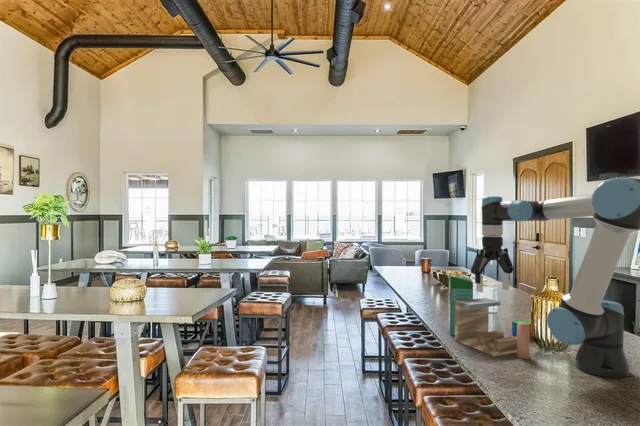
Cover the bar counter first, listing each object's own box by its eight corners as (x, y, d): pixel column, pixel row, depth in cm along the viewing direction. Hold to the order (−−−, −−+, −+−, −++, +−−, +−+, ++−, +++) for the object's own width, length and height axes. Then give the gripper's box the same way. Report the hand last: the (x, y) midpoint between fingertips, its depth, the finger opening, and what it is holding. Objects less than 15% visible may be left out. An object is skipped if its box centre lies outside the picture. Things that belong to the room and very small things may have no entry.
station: (526, 350, 161) (526, 308, 161) (494, 356, 154) (495, 312, 154) (484, 335, 180) (485, 297, 180) (454, 340, 173) (455, 300, 173)
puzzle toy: (524, 338, 176) (524, 324, 176) (511, 335, 181) (512, 321, 181) (532, 336, 179) (533, 323, 179) (520, 333, 184) (520, 320, 184)
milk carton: (472, 336, 179) (473, 276, 179) (450, 334, 181) (450, 275, 181) (469, 330, 188) (470, 273, 188) (448, 329, 190) (448, 272, 190)
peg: (531, 358, 153) (532, 324, 153) (523, 359, 151) (524, 325, 151) (522, 354, 157) (522, 321, 157) (514, 356, 155) (514, 322, 155)
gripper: (507, 235, 176) (508, 287, 176) (460, 236, 166) (461, 291, 166) (523, 235, 169) (523, 289, 169) (475, 237, 159) (475, 294, 159)
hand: (492, 290), depth 167 cm, fingers open, 13 cm apart
